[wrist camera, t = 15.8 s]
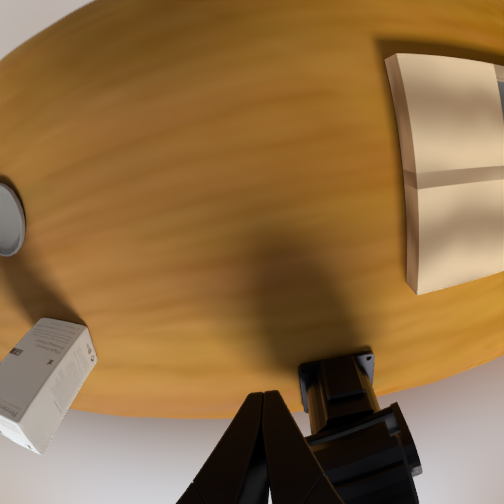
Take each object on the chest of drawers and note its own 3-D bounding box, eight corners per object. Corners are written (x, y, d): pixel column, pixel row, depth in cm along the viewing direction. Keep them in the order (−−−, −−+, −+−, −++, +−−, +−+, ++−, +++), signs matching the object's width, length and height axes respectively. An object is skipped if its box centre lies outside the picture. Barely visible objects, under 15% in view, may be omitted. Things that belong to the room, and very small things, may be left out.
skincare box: (87, 323, 23) (16, 422, 12) (100, 361, 25) (45, 458, 14) (39, 315, 24) (-32, 395, 12) (53, 351, 25) (-5, 432, 14)
